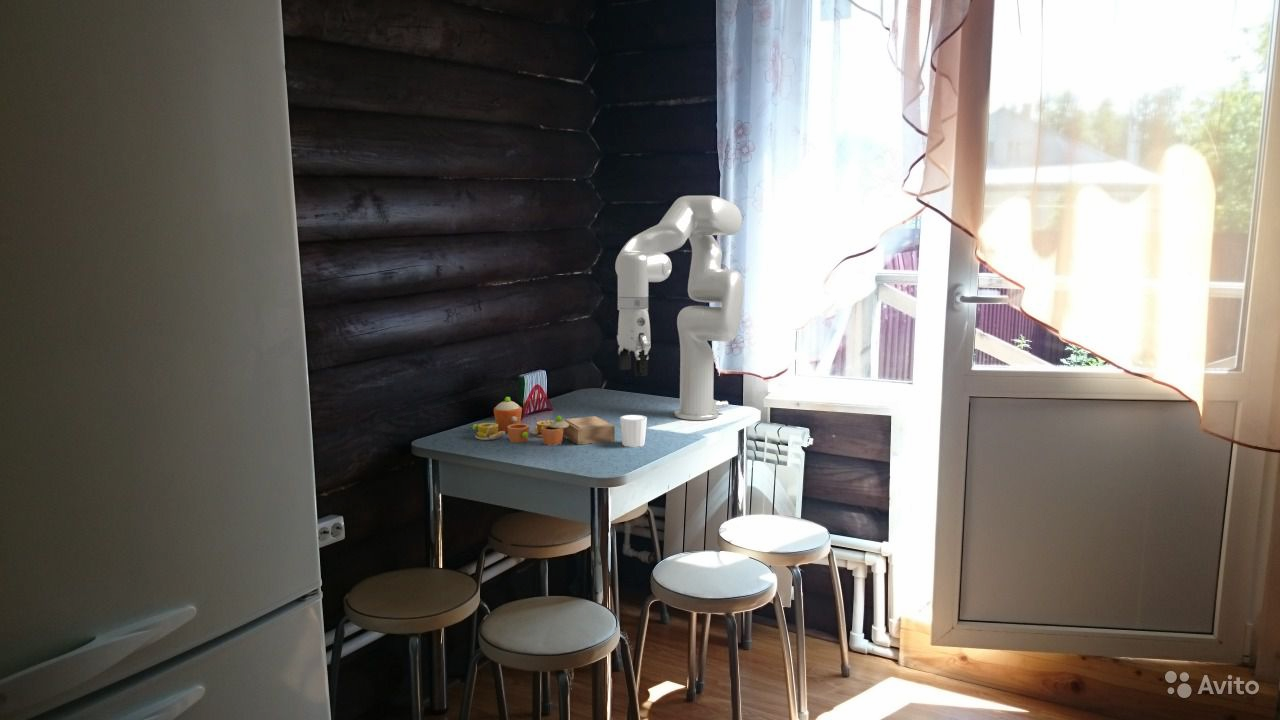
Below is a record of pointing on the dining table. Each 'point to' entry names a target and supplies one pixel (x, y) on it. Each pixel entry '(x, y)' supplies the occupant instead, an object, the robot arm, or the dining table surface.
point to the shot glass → (633, 430)
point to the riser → (589, 430)
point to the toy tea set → (519, 426)
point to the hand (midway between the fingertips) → (632, 372)
